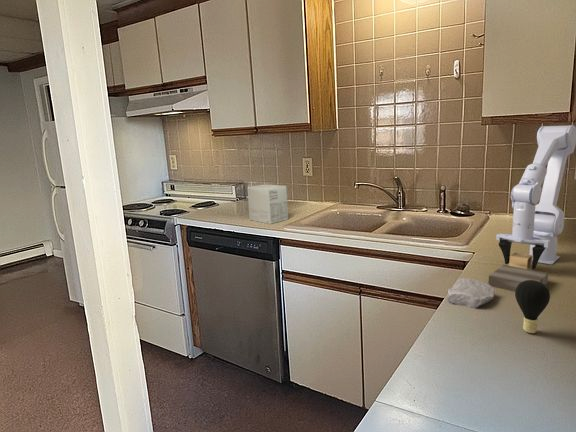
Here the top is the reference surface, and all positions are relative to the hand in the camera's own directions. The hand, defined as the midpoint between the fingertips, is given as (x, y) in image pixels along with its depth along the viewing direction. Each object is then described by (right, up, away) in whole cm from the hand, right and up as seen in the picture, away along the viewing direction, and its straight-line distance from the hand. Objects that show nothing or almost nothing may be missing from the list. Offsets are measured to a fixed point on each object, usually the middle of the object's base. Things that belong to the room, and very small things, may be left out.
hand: (520, 265), depth 131 cm
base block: (-6, -4, -10) cm, 12 cm away
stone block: (-23, -7, -18) cm, 30 cm away
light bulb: (-18, -11, -37) cm, 42 cm away
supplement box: (-83, +13, +92) cm, 124 cm away
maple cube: (0, -2, 0) cm, 2 cm away
